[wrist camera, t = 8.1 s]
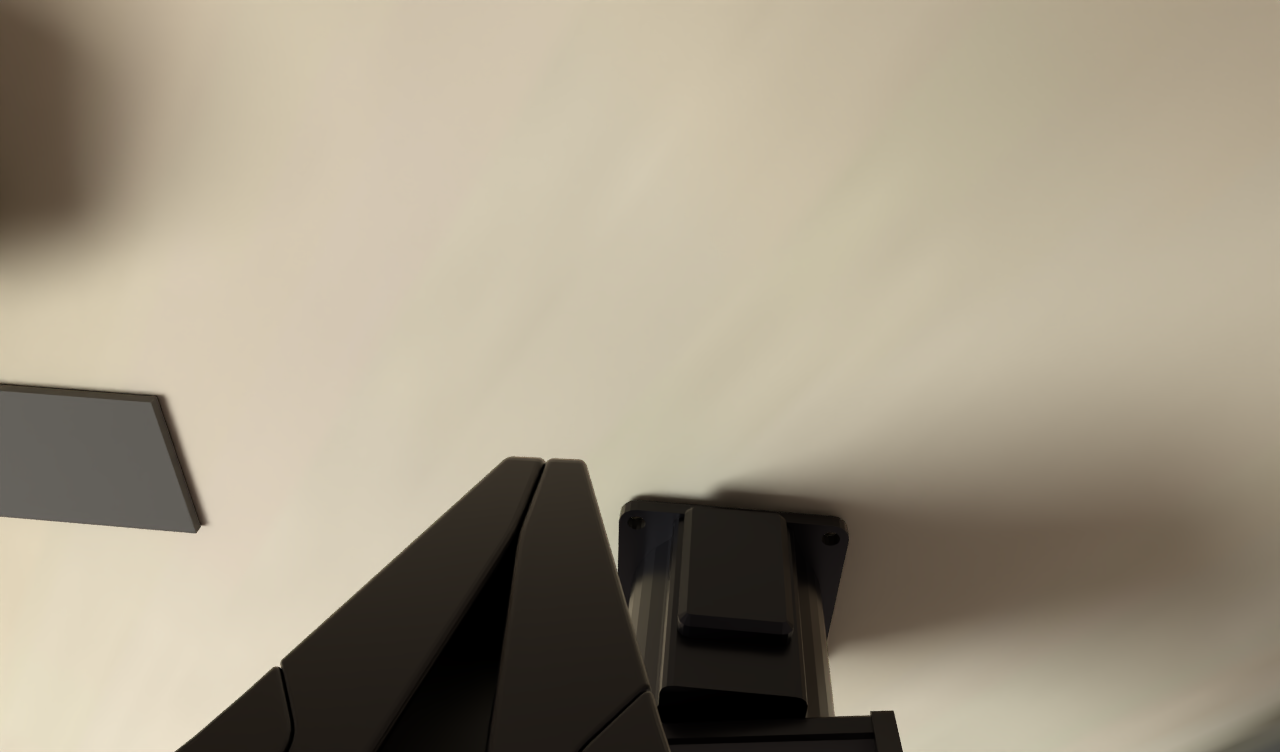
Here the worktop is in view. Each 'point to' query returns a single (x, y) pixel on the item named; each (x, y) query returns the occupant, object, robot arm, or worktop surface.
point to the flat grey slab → (90, 460)
